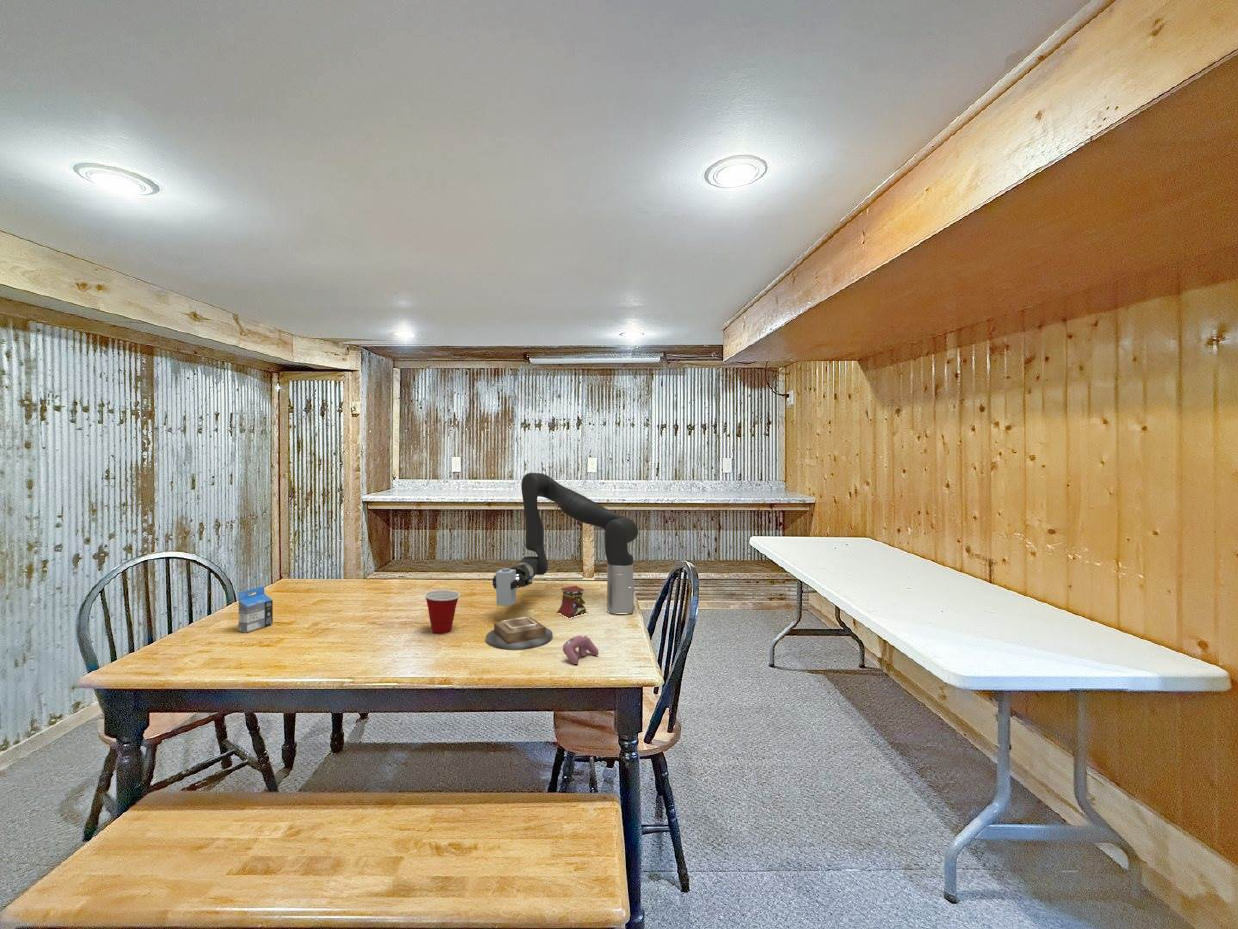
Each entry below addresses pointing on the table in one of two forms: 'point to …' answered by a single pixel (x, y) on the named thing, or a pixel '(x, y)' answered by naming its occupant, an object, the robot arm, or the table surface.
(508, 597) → the slate block
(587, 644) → the purple curved piece
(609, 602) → the robot arm
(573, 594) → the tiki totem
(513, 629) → the tower base
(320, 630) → the table surface
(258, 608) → the ink cartridge box
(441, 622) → the plastic cup
